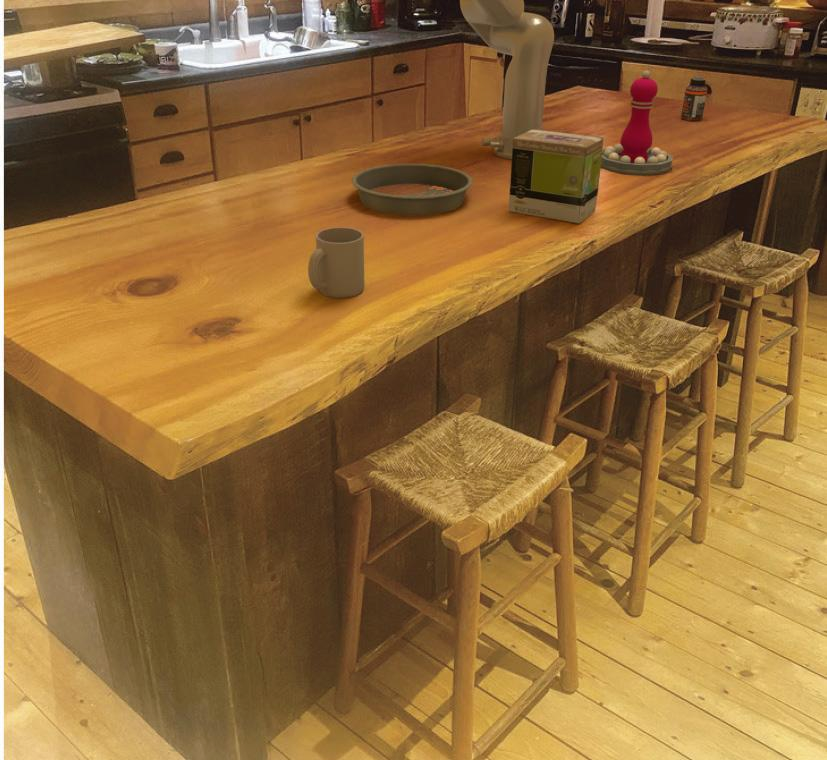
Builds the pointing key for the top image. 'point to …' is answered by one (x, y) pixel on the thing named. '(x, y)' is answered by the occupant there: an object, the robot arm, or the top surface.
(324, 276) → the cup
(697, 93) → the supplement bottle
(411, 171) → the cake pan
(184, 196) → the top surface
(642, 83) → the pepper mill
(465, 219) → the top surface
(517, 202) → the tea box
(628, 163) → the bead tray
